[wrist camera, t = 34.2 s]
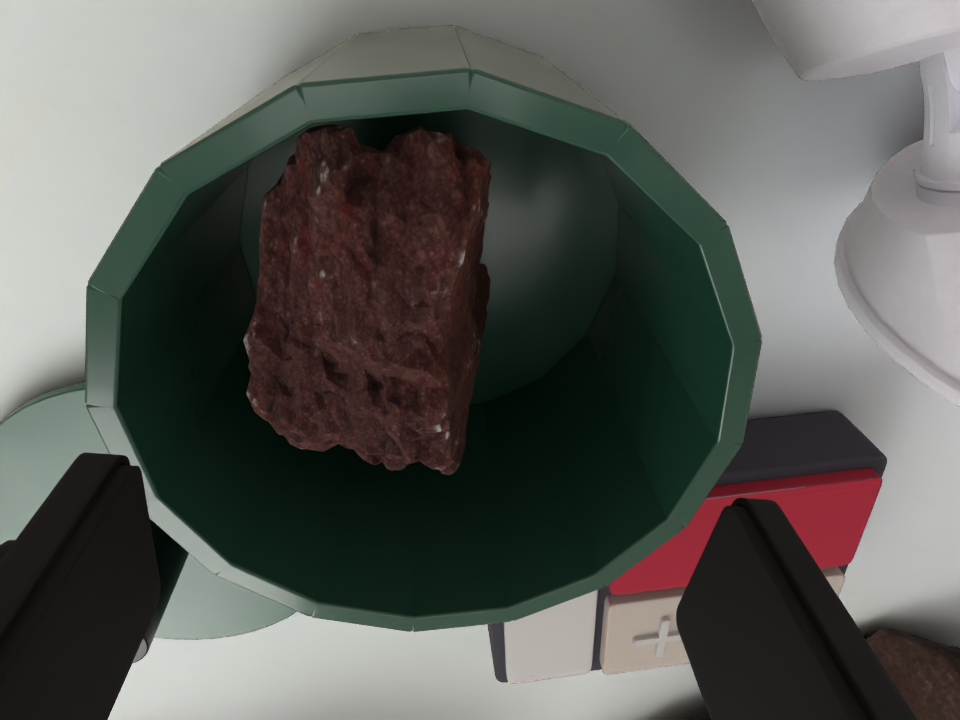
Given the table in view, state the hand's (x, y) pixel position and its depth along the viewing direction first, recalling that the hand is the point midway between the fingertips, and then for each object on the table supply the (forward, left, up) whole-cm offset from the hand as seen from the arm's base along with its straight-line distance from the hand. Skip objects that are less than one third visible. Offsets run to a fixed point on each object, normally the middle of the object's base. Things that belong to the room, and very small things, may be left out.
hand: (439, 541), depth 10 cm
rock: (+1, -1, -3) cm, 3 cm away
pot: (0, 0, -13) cm, 13 cm away
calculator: (-2, +16, -13) cm, 20 cm away
